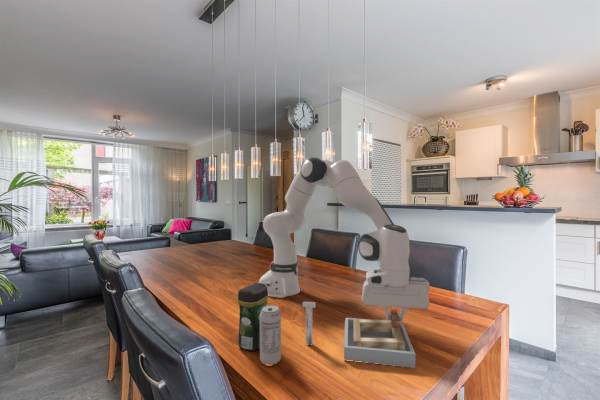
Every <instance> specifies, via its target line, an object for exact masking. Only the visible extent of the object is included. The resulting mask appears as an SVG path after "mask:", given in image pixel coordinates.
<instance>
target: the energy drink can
mask: <svg viewBox="0 0 600 400" xmlns="http://www.w3.org/2000/svg"><path fill="white" fill-rule="evenodd" d="M281 359H282V312H281V311H280V308H279V306H278V305H275V304H269V305H268V304H267V306H264V307H263V308H262V311H261V313H260V348H259V361H260V362H261V364H262V363H264V364H275V363H277V362H280V361H281Z"/></svg>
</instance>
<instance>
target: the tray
mask: <svg viewBox="0 0 600 400" xmlns="http://www.w3.org/2000/svg"><path fill="white" fill-rule="evenodd" d="M344 319H345V321H344V343H343V360H344V359H346V360H353V361H362V362H368V363H378V364H385V365H395V366H402V367H401V368H404V367H411V368H410V369H414V368H415V369H416V352H415V350H414V348H413V345H412V342H411V339H410V337H409V335H408V332H407V330H406V327H405V326H404V322H403V321H399V328H400V331H401V334H402V337H403V339H404V342H405V351H399V350H389V349H378V348H367V347H357V346H354V325H353V319H356V320H370V319H369V318H368V319H367V318H356V317H353V318H352V317H345V318H344ZM360 336H361V338H393V335H392V332H371V331H360ZM385 365H384V366H385Z"/></svg>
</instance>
